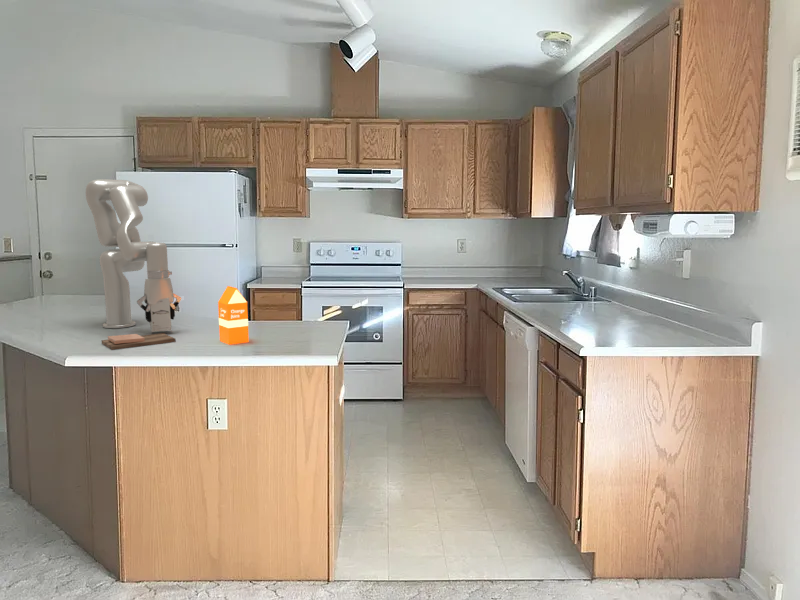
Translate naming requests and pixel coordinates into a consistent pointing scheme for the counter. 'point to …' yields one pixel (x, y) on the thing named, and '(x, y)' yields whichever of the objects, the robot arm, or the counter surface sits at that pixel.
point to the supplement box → (160, 316)
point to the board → (149, 340)
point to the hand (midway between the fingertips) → (160, 320)
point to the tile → (126, 338)
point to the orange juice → (233, 317)
